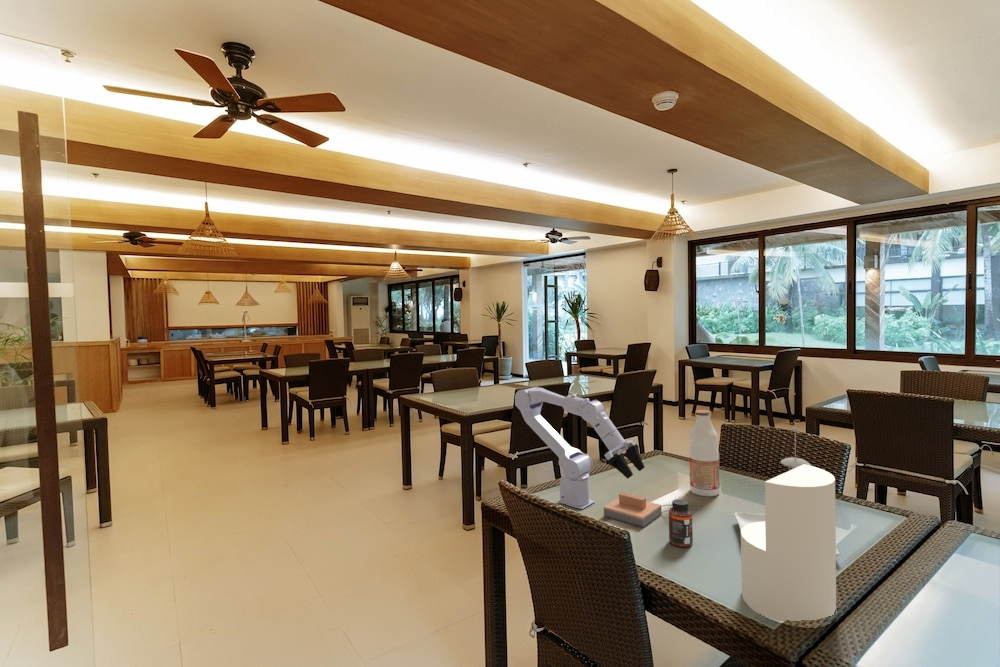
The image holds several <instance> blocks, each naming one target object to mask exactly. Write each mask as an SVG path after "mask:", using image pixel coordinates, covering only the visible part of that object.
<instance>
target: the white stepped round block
mask: <svg viewBox="0 0 1000 667" xmlns="http://www.w3.org/2000/svg"><path fill="white" fill-rule="evenodd" d="M764 509H765V511H764V514H765V521H763V522H754V523H750V524H747V525H745V526H744V527H743V528H742V529H741V531H740V566H741V567H740V571H741V574H740V575H741V576H740V577H741V580H740V581H741V597H742V599H743V601H744V602H745V604H746V605H747V606H748V607H749V608H750V609H751V610H752V611H754V612H755V613H756V612H757V613H756V614H758V613H759V614H758V615H760V614H761V615H760V616H762V615H763V616H766V617H768V618H771V619H775V620H780V621H785V620H789V621H801V620H817V619H821V618H825V617H828V616H832V615H834V612H835V610H836V611H837V557H836V548H837V546H836V545H837V542H836V539H837V538H836V537H837V536H836V531H837V530H836V528H837V527H836V525H837V524H836V478H835V476H834V474H832V473H831V472H829V471H826V469H822V468H819V467H816V466H814V465H811V466H810V465H806V464H803V465H801V466H799V467H796V468H791V469H790V471H789V470H788V471H786V472H783V473H781V474H779V475H776V476H774V477H772V478H769V479H768V480H766V481H764ZM763 616H762V617H763Z"/></svg>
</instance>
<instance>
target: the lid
mask: <svg viewBox="0 0 1000 667" xmlns="http://www.w3.org/2000/svg"><path fill="white" fill-rule="evenodd" d="M659 508H661V509H662V504H659V503H654V502H650V501H647V498H646V497H644V496H637V495H633V494H632V493H631V494H630V493H626V492H620V493H618V498H616V499H615V500H612V501H611V502H610V503H609V502H608V503H607V504H606V505H604V506H603V510H604V509H607V510H610V511H614V512H617V513H621V514H624V515H628V516H632V517H635V518H639V519H642V520H643V519H645V518H646V517H648V516H649V515H651V514H652V513H653V512H655V511H656V510H658V509H659Z"/></svg>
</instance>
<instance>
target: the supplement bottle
mask: <svg viewBox="0 0 1000 667" xmlns="http://www.w3.org/2000/svg"><path fill="white" fill-rule="evenodd" d="M671 506H672V507H670V508H668V509H669V510H668V535H669V536H668V539H669V542H670V543H671V545H673V546H675V547H679V548H688V547H691V546H692V545H693V536H694V535H693V512H692V510H691V509H689V502H688V501H687V500H685V499H681V498H680V499H678V498H677V499H673V500H672V504H671Z"/></svg>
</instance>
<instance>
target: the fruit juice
mask: <svg viewBox="0 0 1000 667" xmlns="http://www.w3.org/2000/svg"><path fill="white" fill-rule="evenodd" d="M695 416H696V418H695V422H694V425H693V427H692V429H691V430H690V432H689V441H690V447H689V454H688V455H689V456H688V457H689V488H690V492H691V493H693V494H694V495H696V496H700V497H701V496H702V497H716V496H718V495H719V494H720V491H721V490H720V487H721V486H720V452H719V449H718V443H719V435H718V432H717V431H716V430H715V427H714V425H713V422H712V420H711V417H712V411H710V410H708V409H707V410H704V409H699V410H695Z"/></svg>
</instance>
